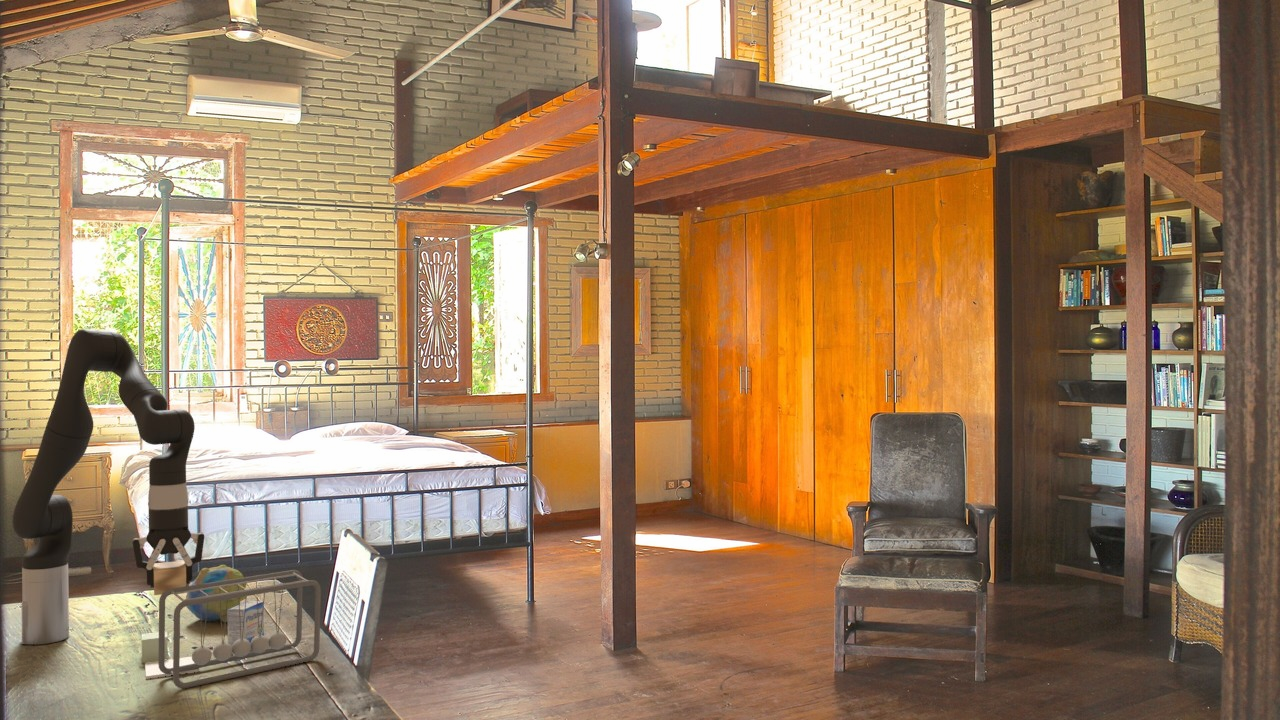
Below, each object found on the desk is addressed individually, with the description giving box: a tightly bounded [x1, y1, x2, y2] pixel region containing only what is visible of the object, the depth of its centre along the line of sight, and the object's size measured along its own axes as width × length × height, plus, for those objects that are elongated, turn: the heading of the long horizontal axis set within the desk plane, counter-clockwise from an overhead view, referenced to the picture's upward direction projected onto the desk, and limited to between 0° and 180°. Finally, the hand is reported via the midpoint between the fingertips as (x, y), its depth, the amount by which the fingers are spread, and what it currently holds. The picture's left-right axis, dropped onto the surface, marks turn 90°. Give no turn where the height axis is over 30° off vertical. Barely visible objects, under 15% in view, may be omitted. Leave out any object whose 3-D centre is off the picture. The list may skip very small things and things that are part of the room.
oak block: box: [153, 560, 187, 596], centre depth 213 cm, size 6×8×5 cm
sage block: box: [141, 631, 169, 664], centre depth 221 cm, size 5×5×5 cm
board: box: [144, 656, 200, 680], centre depth 214 cm, size 10×10×1 cm
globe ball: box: [185, 564, 248, 624], centre depth 252 cm, size 14×16×15 cm
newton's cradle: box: [158, 569, 322, 689], centre depth 213 cm, size 30×10×18 cm, turn 132°
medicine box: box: [227, 600, 265, 647], centre depth 232 cm, size 8×4×9 cm, turn 168°
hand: (169, 584), depth 213 cm, fingers closed on oak block, 6 cm apart
